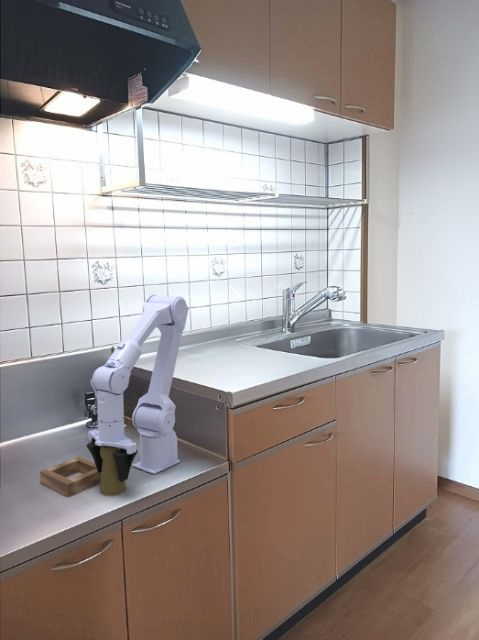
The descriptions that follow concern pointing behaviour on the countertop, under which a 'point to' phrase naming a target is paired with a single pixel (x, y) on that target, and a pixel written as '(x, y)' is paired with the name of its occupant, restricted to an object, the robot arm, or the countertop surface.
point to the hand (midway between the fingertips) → (112, 475)
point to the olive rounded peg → (110, 473)
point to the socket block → (57, 474)
